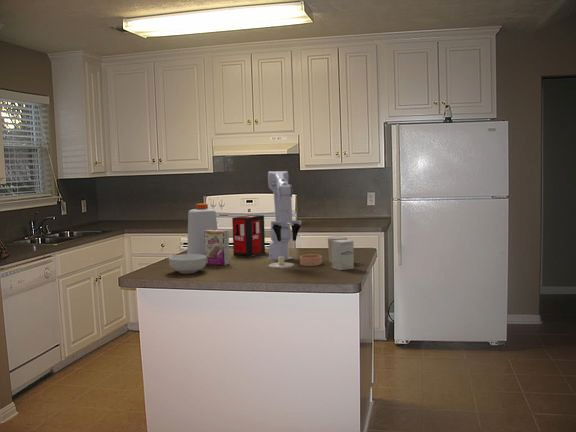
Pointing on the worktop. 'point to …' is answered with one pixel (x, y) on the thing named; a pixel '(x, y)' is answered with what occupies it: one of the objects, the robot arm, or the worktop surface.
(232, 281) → the worktop surface
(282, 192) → the robot arm
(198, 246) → the plastic bottle
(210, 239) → the candy bar box
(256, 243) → the cleaning product box
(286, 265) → the lid
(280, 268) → the mat
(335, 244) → the supplement box
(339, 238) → the coffee cup
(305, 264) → the ramekin
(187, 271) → the cereal bowl
